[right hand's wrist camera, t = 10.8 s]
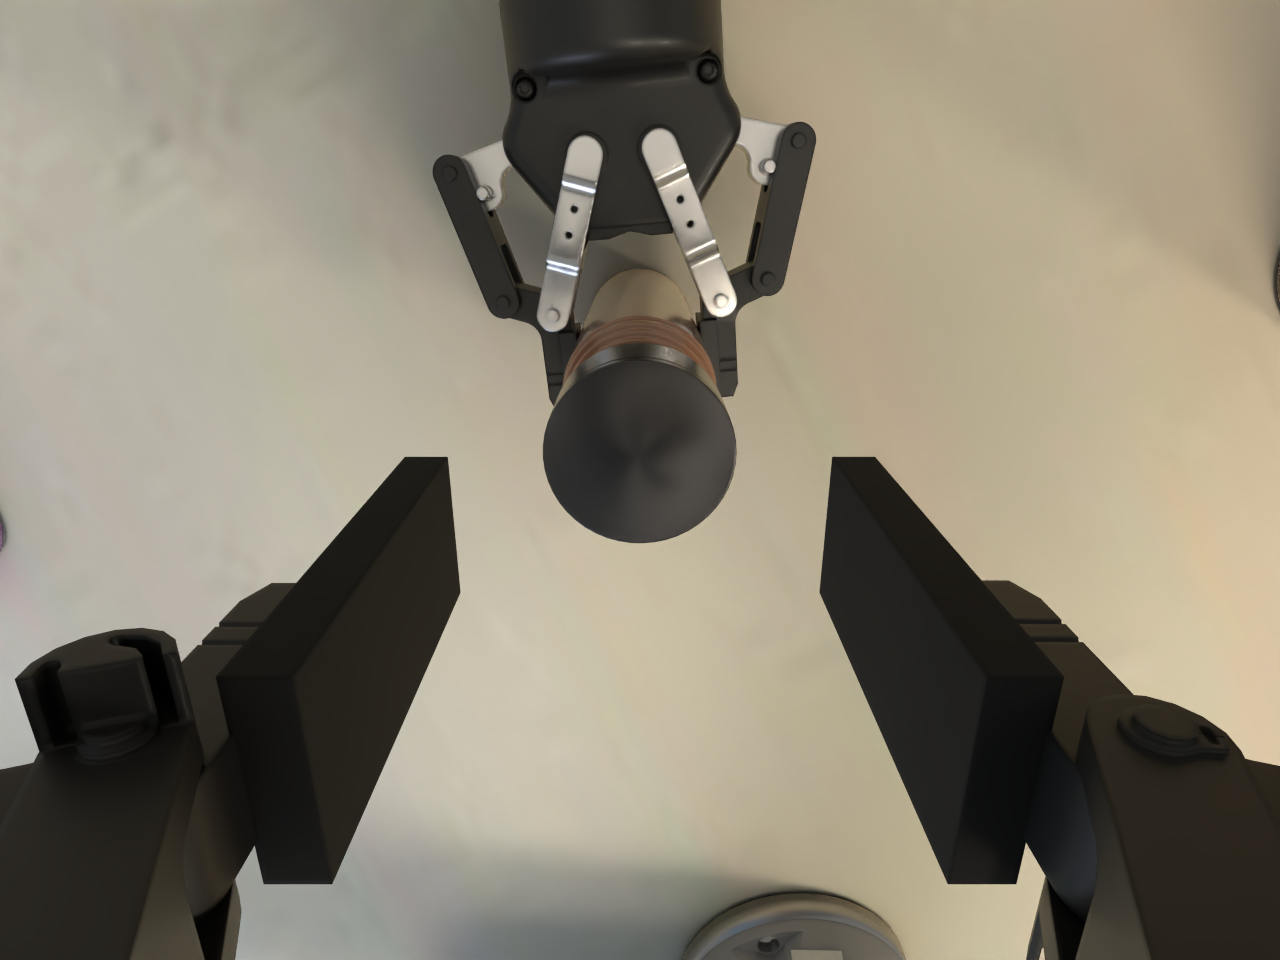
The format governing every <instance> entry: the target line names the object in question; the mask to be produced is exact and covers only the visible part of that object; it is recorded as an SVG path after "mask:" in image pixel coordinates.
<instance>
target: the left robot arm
mask: <svg viewBox="0 0 1280 960" xmlns="http://www.w3.org/2000/svg"><path fill="white" fill-rule="evenodd" d="M499 7H500V14H501V22H502V30H503V37H504V45H505V52H506V60H507V67H508V75H509V83H510V90H511V105H510V112H509V116H508V119H507V122H506V125H505V127H504V131H503V140H501V141H498V142H496V143H493V144H491V145H488V146H486V147H483V148H481V149H478V150H476V151H473V152H471V153H468V154H466V155H463V156H454V155H444V156H441V157H440V158H438V159H437V160H436V162H435V164H434V166H433V177H434V180H435V182H436V185H437V187H438V189H439V192H440V194H441V197H442V199H443V201H444V204H445V206H446V208H447V211H448V213H449V216H450V218H451V220H452V223H453V225H454V227H455V230H456V232H457V235H458V237H459V239H460V242H461V244H462V247H463V249H464V251H465V254H466V256H467V258H468V261H469V263H470V266H471V268H472V270H473V273H474V275H475V278H476V280H477V282H478V285H479V287H480V289H481V292H482V294H483V297H484V299H485V301H486V304H487V306H488V308H489V310H490V312H491V313H492V314H493V315H494V316H496V317H498V318H502V319H506V318H511V319H515V320H519V321H523V322H526V323H529V324H531V325H532V326H534V327H535V328H536V329H537V330H538V332H539V333H540V335H541V338H542V345H543V352H544V360H545V368H546V374H547V383H548V390H549V398H550V400H551V402H552V404H553V406H554V405H555V403H556V400H557V398H558V395H559V393H560V391H561V389H562V387H563V380H564V374H565V371H566V367H567V364H568V362H569V360H570V357H571V355H572V352H573V350H574V347H575V345H576V342H577V340H578V338H579V335H580V333H581V326H580V323H575V321H574V313H573V311H574V306H575V302H576V297H577V292H578V288H579V283H580V279H581V274H582V270H583V266H584V263H585V259H586V254H587V250H588V245H589V241H594V240H605V239H610V238H613V237H616V236H618V235H621V234H623V233H626V232H629V231H632V232H638V233H643V234H648V235H659V234H670V233H674V235H675V237H676V240H677V242H678V245H679V247H680V249H681V252H682V254H683V256H684V259H685V261H686V263H687V266H688V268H689V271H690V273H691V275H692V278H693V280H694V283H695V285H696V287H697V290H698V292H699V295H700V311H701V312H700V313H696V326H697V329H698V331H699V334H700V336H701V339H702V341H703V344H704V346H705V348H706V351H707V353H708V356H709V358H710V361H711V363H712V366H713V369H714V372H715V377H716V385H717V388H718V390H719V392H720V394H721V397H728V396H734V393H735V390H736V387H737V384H738V376H737V354H736V332H735V319H736V316H737V313H738V312H739V310H740V309H741V308H742V307H743V306H744V305H745V304H747V303H749V302H751V301H753V300H756V299H758V298H760V297H762V296H771V295H774V294H776V293H777V292H779V291H780V289H781V288H782V286H783V284H784V280H785V276H786V271H787V267H788V263H789V258H790V254H791V249H792V245H793V241H794V236H795V232H796V227H797V223H798V219H799V214H800V210H801V206H802V201H803V197H804V192H805V188H806V184H807V179H808V175H809V170H810V166H811V162H812V157H813V153H814V148H815V144H816V135H815V132H814V130H813V128H812V127H811V126H810V125H808V124H807V123H804V122H796V123H791V124H788V125H782V124H777V123H771V122H766V121H761V120H755V119H750V118H744V117H740V112H739V109H738V107H737V105H736V103H735V102H734V100H733V98H732V97H731V95H730V92H729V90H728V88H727V84H726V81H725V75H724V63H723V40H722V17H721V0H499ZM734 146H736V147H739V148H740V149H741V150H742V151H743V152H744V153H745V155H746V158H747V173H748V176H749V178H750V179H751V180H752V181H753V182H754V183H756V184H759V185H762V187H761V192H760V196H759V201H758V206H757V211H756V215H755V220H754V225H753V230H752V235H751V239H750V244H749V249H748V254H747V259H746V263H745V264H743V265H741V266H739V267H737V268H734V269H732V270H730V271H728V272H727V271H726V268H725V266H724V263H723V260H722V258H721V255H720V253H719V250H718V246H717V243H716V241H715V238H714V236H713V233H712V231H711V228H710V226H709V223H708V221H707V218H706V216H705V213H704V211H703V208H702V206H701V202H702V200H703V199H704V197H705V195H706V194H707V192H708V190H709V189H710V187H711V185H712V184H713V182H714V180H715V178H716V177H717V175H718V173H719V172H720V170H721V168H722V167H723V165H724V163H725V161H726V160H727V158H728V156H729V155H730V153H731V151H732V150H733V148H734ZM513 167H514V168H515V170H516V171H517V172H518V173H519V174H520V175H521V177H522V178H523V179H524V180H525V181H526V182H527V184H528V185H529V186H530V187H531V188H532V189H533V191H534V192H535V193H536V194H537V195H538V196H539V198H540V199H541V200H542V201H543V202H544V203H545V205H546V206H547V207H548V208H549V209H550V210H551V212H552V213H553V214H554V215H555V220H554V225H553V230H552V235H551V240H550V244H549V249H548V254H547V260H546V271H545V276H544V280H543V285H542V288H539V287H536V286H532V285H528V284H525V283H524V281H523V278H522V276H521V273H520V271H519V268H518V266H517V263H516V261H515V258H514V256H513V253H512V251H511V248H510V246H509V243H508V241H507V238H506V236H505V233H504V231H503V228H502V226H501V223H500V221H499V218H498V216H497V213H496V211H495V210H496V209H498V208H500V207H501V206H502V205H503V204H504V202H505V200H506V195H507V194H506V188H505V177H506V175H507V173H508V171H509V170H510V169H512V168H513ZM1277 291H1278V298H1279V303H1280V262H1279V267H1278V275H1277Z"/></svg>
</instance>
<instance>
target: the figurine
mask: <svg viewBox="0 0 1280 960" xmlns="http://www.w3.org/2000/svg"><path fill="white" fill-rule="evenodd" d="M2 539H3V528H2V524H1V523H0V551H1V548H2Z"/></svg>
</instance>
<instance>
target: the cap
mask: <svg viewBox="0 0 1280 960" xmlns="http://www.w3.org/2000/svg"><path fill="white" fill-rule="evenodd" d="M736 453H737V452H736V439H735V434H734V429H733V426H732V423H731V420H730V417H729V414H728V412H727V409H726V407H725V404H724V402H723V399H722V397H721V394H720V392H719V390H718V388H717V386H716V385H715V383H714V382H713V380H712V379H711V377H710V376H709V375H708V374H707V372H706V371H705V370H704V369H703V368H702V367H701V366H700V365H698V364H697V363H696V362H695V361H694V360H692V359H691V358H689V357H688V356H686V355H684V354H683V353H681V352H679V351H676V350H674V349H672V348H669V347H665V346H662V345H658V344H652V343H628V344H622V345H618V346H613V347H611V348H608V349H605V350H603V351H601V352H599V353H597V354H595V355H593V356H591V357H590V358H589V359H587V360H586V361H584V362H583V363H582V364H581V365H580V366H579V367H578V368H577V369H576V370H574V372H573V373H572V374H571V375H570V377H569V378H568V379H567V380H566V382H565V384H564V385H563V387H562V389H561V391H560V393H559V395H558V398H557V400H556V403H555V405H554V408H553V410H552V413H551V415H550V418H549V421H548V423H547V427H546V431H545V434H544V442H543V461H544V468H545V472H546V476H547V479H548V482H549V484H550V487H551V489H552V491H553V493H554V495H555V496H556V498H557V500H558V501H559V503H560V504H561V505H562V506H563V508H564V509H565V510H566V511H567V512H568V513H569V514H570V515H571V516H572V517H573V518H574V519H575V520H576V521H577V522H579V523H580V524H581V525H583V526H584V527H586V528H587V529H589V530H591V531H593V532H595V533H597V534H599V535H601V536H604V537H606V538H610V539H613V540H617V541H622V542H629V543H650V542H657V541H662V540H667V539H670V538H673V537H676V536H678V535H680V534H682V533H685V532H687V531H689V530H690V529H692V528H693V527H695V526H697V525H698V524H699V523H701V522H702V521H703V520H704V519H705V518H707V517H708V516H709V515H710V514H711V513H712V512H713V511H714V509H715V508H716V507H717V506H718V504H719V503H720V502H721V500H722V499H723V497H724V495H725V493H726V492H727V490H728V488H729V485H730V483H731V480H732V477H733V474H734V469H735V465H736Z"/></svg>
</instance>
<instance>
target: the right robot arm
mask: <svg viewBox="0 0 1280 960" xmlns="http://www.w3.org/2000/svg"><path fill="white" fill-rule="evenodd" d="M459 594H460V583H459V572H458V562H457V551H456V540H455V530H454V519H453V508H452V498H451V487H450V476H449V466H448V457H405V458H404V459H403V460H402V461H401V462H400V463H399V465H398V466H397V467H396V468H395V469H394V470H393V471H392V473H391V474H390V475H389V476H388V477H387V478H386V480H385V481H384V482H383V483H382V484H381V485H380V487H379V488H378V489H377V490H376V491H375V492H374V494H373V495H372V496H371V497H370V498H369V499H368V500H367V502H366V503H365V504H364V505H363V506H362V507H361V509H360V510H359V511H358V512H357V513H356V514H355V516H354V517H353V518H352V519H351V520H350V521H349V523H348V524H347V525H346V526H345V527H344V528H343V530H342V531H341V532H340V533H339V534H338V535H337V536H336V538H335V539H334V540H333V541H332V542H331V543H330V545H329V546H328V547H327V548H326V549H325V550H324V552H323V553H322V554H321V555H320V556H319V557H318V559H317V560H316V561H315V562H314V563H313V564H312V566H311V567H310V568H309V569H308V570H307V571H306V572H305V574H304V575H303V576H302V577H301V578H300V579H299V581H298V582H297V583H271V584H269V585H268V586H266V587H264V588H262V589H261V590H259V591H257V592H255V593H254V594H252V595H250V596H248V597H247V598H245V599H243V600H241V601H240V602H239V603H238V604H237V605H236V606H235V607H234V608H233V609H232V610H231V611H230V612H229V613H228V614H227V615H226V616H225V617H224V618H223V619H222V620H221V622H220V623H219V627H215V628H214V629H213V630H212V631H211V632H210V633H209V634H208V635H207V636H206V637H205V638H204V639H203V640H202V645H197V647H196V648H195V649H194V650H193V651H192V652H191V653H190V654H189V655H188V656H187V657H186V658H185V659H184V660H183V661H182V662H181V660H180V656H179V652H178V648H177V644H176V640H175V639H174V638H173V637H171V636H170V635H168V634H167V633H165V632H164V631H159V630H152V629H146V628H136V629H122V630H113V631H109V632H105V633H101V634H96V635H92V636H88V637H84V638H82V639H79V640H77V641H74V642H71V643H69V644H66V645H64V646H61V647H59V648H56V649H54V650H53V651H51V652H49V653H47V654H46V655H44V656H42V657H41V658H39V659H37V660H36V661H34V662H32V663H31V664H30V665H29V666H28V667H27V668H26V669H25V670H24V671H23V672H22V673H21V674H20V675H19V676H18V677H17V678H16V679H15V681H16V684H17V687H18V690H19V693H20V696H21V699H22V702H23V705H24V708H25V711H26V714H27V716H28V719H29V722H30V725H31V728H32V731H33V734H34V737H35V740H36V743H37V746H38V749H39V753H38V755H37V757H36V759H35V761H34V763H31V764H26V765H21V766H16V767H11V768H6V769H1V770H0V960H235V957H236V949H237V942H238V934H239V927H240V919H241V905H240V898H239V893H238V889H237V885H236V881H235V878H236V876H237V875H238V873H239V871H240V869H241V868H242V866H243V864H244V863H245V861H246V859H247V857H248V856H249V854H250V852H251V851H252V849H253V847H254V845H255V848H256V853H257V857H258V861H259V866H260V870H261V874H262V879H263V883H264V884H332V883H333V881H334V879H335V876H336V874H337V872H338V870H339V867H340V865H341V863H342V860H343V858H344V856H345V854H346V851H347V849H348V847H349V845H350V842H351V840H352V838H353V835H354V833H355V831H356V829H357V826H358V824H359V822H360V820H361V817H362V815H363V813H364V810H365V808H366V806H367V804H368V801H369V799H370V797H371V795H372V792H373V790H374V788H375V785H376V783H377V781H378V779H379V776H380V774H381V772H382V770H383V767H384V765H385V763H386V760H387V758H388V756H389V754H390V751H391V749H392V747H393V745H394V742H395V740H396V738H397V735H398V733H399V731H400V729H401V726H402V724H403V722H404V720H405V717H406V715H407V713H408V710H409V708H410V706H411V704H412V701H413V699H414V697H415V694H416V692H417V690H418V688H419V685H420V683H421V681H422V679H423V676H424V674H425V672H426V669H427V667H428V665H429V663H430V660H431V658H432V656H433V654H434V651H435V649H436V647H437V644H438V642H439V640H440V638H441V635H442V633H443V631H444V629H445V626H446V624H447V622H448V619H449V617H450V615H451V613H452V610H453V608H454V606H455V604H456V601H457V599H458V597H459ZM820 594H821V597H822V599H823V601H824V604H825V606H826V608H827V610H828V613H829V615H830V617H831V619H832V622H833V624H834V626H835V629H836V631H837V633H838V635H839V638H840V640H841V642H842V644H843V647H844V649H845V651H846V654H847V656H848V658H849V660H850V663H851V665H852V667H853V669H854V672H855V674H856V676H857V679H858V681H859V683H860V685H861V688H862V690H863V692H864V694H865V697H866V699H867V701H868V704H869V706H870V708H871V710H872V713H873V715H874V717H875V720H876V722H877V724H878V726H879V729H880V731H881V733H882V735H883V738H884V740H885V742H886V745H887V747H888V749H889V751H890V754H891V756H892V758H893V760H894V763H895V765H896V767H897V770H898V772H899V774H900V776H901V779H902V781H903V783H904V785H905V788H906V790H907V792H908V795H909V797H910V799H911V801H912V804H913V806H914V808H915V810H916V813H917V815H918V817H919V820H920V822H921V824H922V826H923V829H924V831H925V833H926V835H927V838H928V840H929V842H930V845H931V847H932V849H933V851H934V854H935V856H936V858H937V860H938V863H939V865H940V867H941V870H942V872H943V874H944V876H945V879H946V881H947V883H948V884H1016V883H1017V879H1018V874H1019V870H1020V866H1021V861H1022V857H1023V853H1024V848H1025V844H1026V843H1027V845H1028V846H1029V848H1030V850H1031V852H1032V853H1033V855H1034V857H1035V858H1036V860H1037V862H1038V863H1039V865H1040V867H1041V869H1042V870H1043V872H1044V874H1045V875H1046V877H1045V881H1044V885H1043V889H1042V893H1041V897H1040V901H1039V905H1038V909H1037V913H1036V917H1035V921H1034V925H1033V929H1032V933H1031V937H1030V941H1029V945H1028V952H1027V958H1026V960H1039V957H1040V953H1041V949H1042V948H1043V947H1044V954H1045V960H1280V766H1277V765H1272V764H1267V763H1262V762H1257V761H1252V760H1248V759H1245V758H1244V756H1243V754H1242V752H1241V750H1240V749H1239V748H1238V747H1237V745H1236V744H1235V743H1234V742H1233V741H1232V739H1231V738H1230V737H1229V736H1228V735H1227V733H1225V732H1224V731H1223V730H1221V729H1220V728H1218V727H1217V726H1215V725H1214V724H1212V723H1211V722H1210V721H1208V720H1207V719H1205V718H1204V717H1202V716H1200V715H1198V714H1196V713H1193V712H1191V711H1189V710H1187V709H1185V708H1182V707H1180V706H1178V705H1176V704H1173V703H1169V702H1165V701H1162V700H1158V699H1154V698H1151V697H1147V696H1138V695H1133V694H1132V693H1131V692H1130V691H1129V689H1128V688H1127V687H1126V686H1125V685H1124V684H1123V683H1122V682H1121V681H1120V680H1119V679H1118V678H1117V677H1116V676H1115V675H1114V674H1113V673H1112V672H1111V671H1110V670H1109V669H1108V668H1107V667H1106V666H1105V665H1104V664H1103V663H1102V662H1101V661H1100V659H1099V658H1098V657H1097V656H1096V655H1095V654H1094V653H1093V652H1092V651H1091V650H1090V649H1089V648H1088V647H1087V646H1086V645H1085V644H1084V643H1083V642H1079V641H1078V637H1077V636H1076V635H1075V634H1074V633H1073V632H1072V631H1071V629H1070V628H1069V627H1068V626H1067V625H1066V624H1061V619H1060V618H1059V617H1058V616H1057V615H1056V614H1055V613H1054V612H1053V611H1052V610H1051V609H1050V608H1049V607H1048V606H1047V605H1046V604H1045V603H1044V602H1043V601H1042V599H1040V598H1039V597H1037V596H1035V595H1033V594H1032V593H1030V592H1028V591H1026V590H1024V589H1023V588H1021V587H1019V586H1017V585H1016V584H1014V583H1012V582H1010V581H981V579H980V578H979V577H978V576H977V575H976V574H975V572H974V571H973V570H972V569H971V568H970V567H969V566H968V564H967V563H966V562H965V561H964V560H963V559H962V557H961V556H960V555H959V554H958V553H957V552H956V550H955V549H954V548H953V547H952V546H951V545H950V543H949V542H948V541H947V540H946V539H945V538H944V536H943V535H942V534H941V533H940V532H939V531H938V530H937V528H936V527H935V526H934V525H933V524H932V523H931V521H930V520H929V519H928V518H927V517H926V516H925V514H924V513H923V512H922V511H921V510H920V509H919V507H918V506H917V505H916V504H915V503H914V502H913V500H912V499H911V498H910V497H909V496H908V495H907V494H906V492H905V491H904V490H903V489H902V488H901V487H900V485H899V484H898V483H897V482H896V481H895V480H894V478H893V477H892V476H891V475H890V474H889V473H888V471H887V470H886V469H885V468H884V467H883V466H882V465H881V463H880V462H879V461H878V460H877V459H876V458H875V457H832V466H831V476H830V487H829V498H828V508H827V519H826V530H825V540H824V551H823V562H822V572H821V583H820ZM682 960H906V958H905V955H904V952H903V949H902V947H901V945H900V942H899V940H898V939H897V937H896V935H895V934H894V933H893V931H892V930H891V929H890V928H889V926H888V925H886V924H885V923H884V922H883V921H882V920H881V919H880V918H879V917H877V916H876V915H875V914H873V913H872V912H870V911H868V910H867V909H865V908H863V907H861V906H859V905H857V904H854V903H852V902H849V901H846V900H843V899H840V898H836V897H831V896H827V895H820V894H808V893H791V894H780V895H774V896H768V897H764V898H759V899H756V900H753V901H749V902H746V903H744V904H741V905H739V906H736V907H734V908H732V909H730V910H728V911H726V912H725V913H723V914H721V915H720V916H718V917H717V918H715V919H714V920H713V921H711V922H710V923H709V924H707V925H706V926H705V927H704V928H703V929H702V930H701V931H700V932H699V933H698V934H697V935H696V936H695V938H694V939H693V940H692V942H691V943H690V945H689V946H688V948H687V950H686V952H685V954H684V956H683V959H682Z"/></svg>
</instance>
